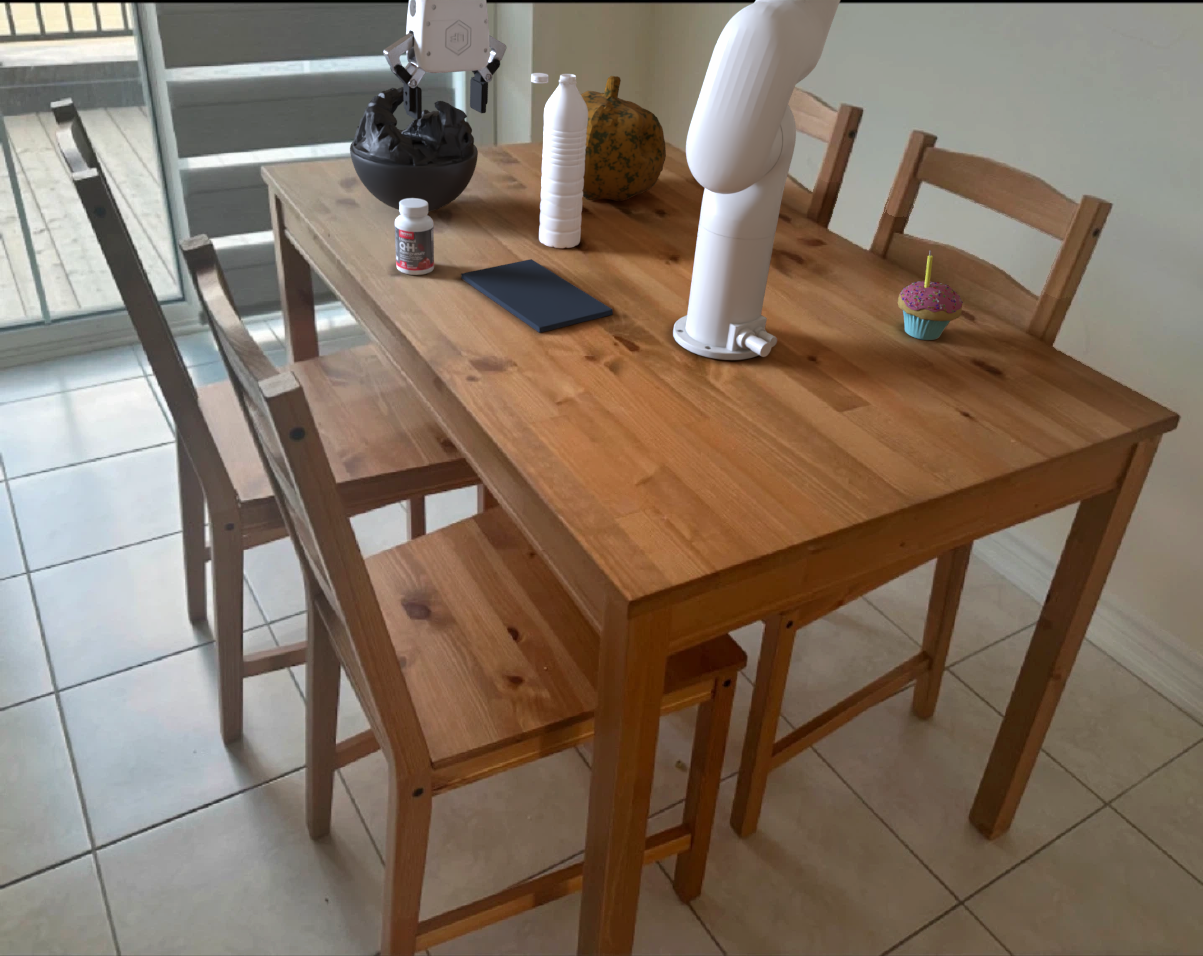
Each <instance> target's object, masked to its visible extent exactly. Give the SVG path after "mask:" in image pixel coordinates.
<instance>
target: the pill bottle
mask: <svg viewBox="0 0 1203 956" xmlns="http://www.w3.org/2000/svg"><path fill="white" fill-rule="evenodd" d="M398 211H399V215H398V216H396V218H395V220H394V241H395V244H394V245H395V263H396V264H395V266H396V269H397V270H398V272H400V273H402V274H406V275H411V276H421V275H426V274H430V273H432V272H433V270H434V269H435V240H434V238H435V236H434V234H435V231H434V229H435V228H434V226H435V224H434V220H433V218H431V216H429V215H428V214H429V212H428V202H427V201H425V200H422V199H417V198H408V199H403V200H401V201H400V202H399V210H398Z"/></svg>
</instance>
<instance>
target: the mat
mask: <svg viewBox="0 0 1203 956" xmlns="http://www.w3.org/2000/svg"><path fill="white" fill-rule="evenodd" d="M460 279H461V280H462V281H464V282H466V283H467V284H468V285H470V286H471V287H472V288H474V289H476V290H477V291H479V293H482V294H483V295H484V296H486V297H487V298H488V299H490V300H491V301H492V302H494V303H496V304H497V305H498V306H500V307H502V308H503V309H504V310H505V311H507V312H509V313H510V314H512V315H513V316H514V317H516V318H517V319H518V320H520V321H522V322H523V323H524V324H526V325H528V326H529V327H530V328H532V329H533V330H534V331H536V332H538V333H539V334H541V333H544V332H545V333H546V332H548V331H552V330H557V329H560V328H561V329H562V328H565V327H569V326H573V325H576V324H577V325H578V324H581V323H585V322H589V321H593V320H597V319H600V318H605V317H608V316H612V315H613V314H614V313H613V312H614V309H613V308H612V307H609V305H607V304H605V303H603V302H601V301H600V300H598V299H597V298H595V297H593V296H592V295H590V294H589V293H587V292H585V291H584V290H582V289H580V288H579V287H577V286H576V285H574V284H572V283H571V282H569V281H567V280H566V279H564V278H562V277H561V276H559V275H558V274H556V273H555V272H553V271H551V270H550V269H548V268H546V267H545V266H543V265H542V264H540V263H539V262H537V261H535V260H534V259H532V258H530V259H526V260H520V261H515V262H511V263H505V264H501V265H496V266H491V267H486V268H481V269H476V270H471V271H467V272H462V273H460Z"/></svg>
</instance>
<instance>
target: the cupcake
mask: <svg viewBox="0 0 1203 956" xmlns="http://www.w3.org/2000/svg"><path fill="white" fill-rule="evenodd" d="M928 252H929V254H928V255H927V259H926V268H925V277H924V280H922V281H915V282H911V283H910V284H909V285H906V286H905V287H902V288H903V289H902V290H901V291H900V292H899V295H898V298H897V304H898V305H897V306H898V308H899V309H900V310H902V312H903V322H904V323H903V324H904V332H905V333H906V334H907V335H909V336H910V337H912V338H915V339H917V340H921V341H922V340H923V341H935V340H938V339H939V338H940V336H941V335H942V333H943V332H944V330H945V329H946V328H947V326H948V325H949V323H950V322H951V321H954V320H957V319H959V318H960V317H961V315H962V310H963V303H964V302H963V300H962V298H961V297H960V295H959V294H958V292H956V291H955V290H954V288H952V287H951V286H949V284H944V283H942V282H939V281H931V277H932V268H933V259H934V256H933V255H932V250H929V251H928Z"/></svg>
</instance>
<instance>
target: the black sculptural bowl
mask: <svg viewBox="0 0 1203 956" xmlns="http://www.w3.org/2000/svg"><path fill="white" fill-rule="evenodd" d="M403 103H404V92H403V86H401V87H399V88H395V87H390V88H389V89H386V90H383V91H380V92H379V93H378V94H377V95H374V96H373V97H372V98H371V100H369V102H368V104H367V106H366V108H365V109H364V111H363V115H362V117H361V118H360V120H359V125H358V126H357V127H356V130H355V135H354V137H353V140H352V142H351V143H350V145H349V153H350V158H351V162H352V165H353V168H354V170H355V173H356V174H357V176H358V179H359V180H360V181H361V183H362V184H363V186H364V187H365V189H366V190H367V191H368V192H369V193H370V194H371V195H372V196H374V197H375V198H376V199H377V200H378V201H379V202H381V203H383V204H385V205H386V206H388V207H391V208H393V209H395V210H397V211H399V202H400V201H401V200H403V199H408V198H417V199H422V200H425V201H427V202H428V213H429V212H433V211H436V210H439V209H441V208H444V207H445V206H447V205H449V204H451V203H452V202H454V201H455V200H456V199H457V198H459V196H460V195H461V194H463V192H464V191H465V190H466V188H467V187H468V186H469V184H470V182H471V180H472V178H473V176H474V174H475V170H476V167H477V163H478V158H479V157H478V155H479V150H478V148H477V146H476V145H475V144H474V143H475V137H474V136H473V134H472V132H473V129H472V126H471V124H470V123H469V122H468V121H466V118H468V114H466V113H465V111H464V110H462V109H459V108H457V107H456V106H453V105H452V104H450V103H449V102H446V101H444V100H436V101H435V102H434V103H433V105H434V108H435V110H432V111H429V110H428V109H422V118H421V119H418V120H416V119H414V120H412V121H411V122H410V123H409V124H408V125H406V128H404V129H399V128H398V127H397V125H398V120H397V118H396V116H395V115H394V114H395V112H396V110H397V109H398V107H399V106H400V105H402V104H403Z"/></svg>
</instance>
